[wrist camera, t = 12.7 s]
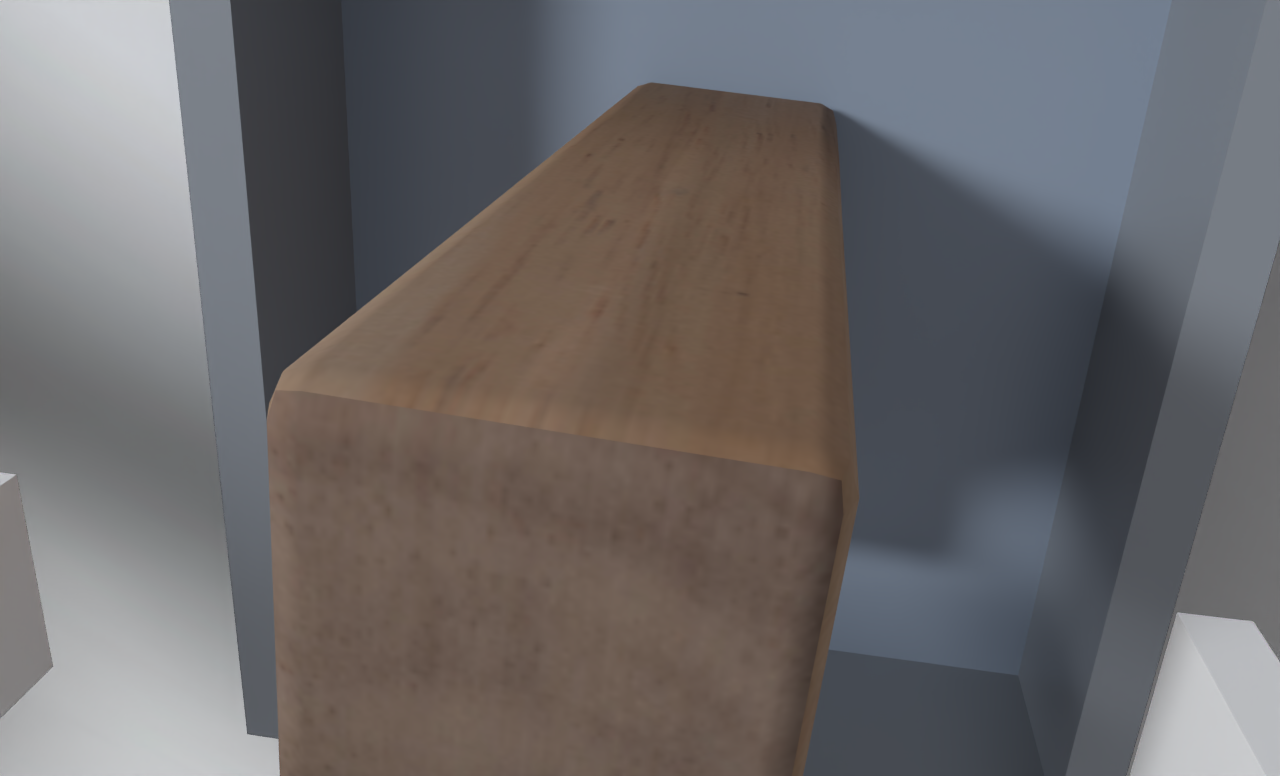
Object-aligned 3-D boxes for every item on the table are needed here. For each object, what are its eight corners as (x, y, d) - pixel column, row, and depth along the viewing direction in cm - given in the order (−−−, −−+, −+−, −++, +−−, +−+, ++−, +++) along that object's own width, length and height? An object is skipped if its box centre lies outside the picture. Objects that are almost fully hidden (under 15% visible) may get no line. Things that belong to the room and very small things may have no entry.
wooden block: (777, 469, 27) (707, 1272, 11) (600, 441, 28) (278, 1169, 11) (839, 102, 24) (870, 473, 7) (635, 78, 24) (242, 374, 8)
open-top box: (345, 598, 32) (247, 733, 27) (294, -265, 24) (133, -326, 18) (1049, 695, 30) (1100, 866, 24) (1274, -229, 21) (1429, -285, 16)
